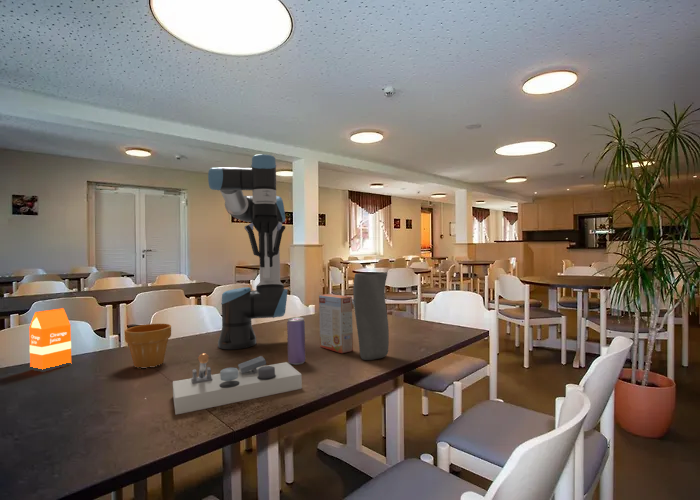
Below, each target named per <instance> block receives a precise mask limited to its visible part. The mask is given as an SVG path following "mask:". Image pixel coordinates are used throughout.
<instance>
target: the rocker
mask: <svg viewBox="0 0 700 500" xmlns="http://www.w3.org/2000/svg"><path fill="white" fill-rule="evenodd" d="M266 365H267V360H266V359H265V358H264V357H263V355H260V356H257V357H254V358H252V359H249V360H246V361H244V362H241V363H238V364H237V367H238V370H240V371H241V372H242V373H245V372H247V371H250V370H252V369H255V368H258V367H261V366H266Z"/></svg>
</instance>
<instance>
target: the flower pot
mask: <svg viewBox="0 0 700 500" xmlns="http://www.w3.org/2000/svg"><path fill="white" fill-rule="evenodd" d="M171 337H172V325H171V324H169V323H148V324H142V325H135V326H132V327H128V328H126V329H124V341H125V343H127V344H128V348H129V351H130V356H131V359H132V363H133V365H134V366H133V367H135V366H136V367H150V366H156V365H159V364H161V365H163V364H162V363H164V362H165V356H166V352H167V347H168V343H169V339H170V338H171ZM159 366H160V365H159ZM156 367H157V366H156Z"/></svg>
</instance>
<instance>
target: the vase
mask: <svg viewBox="0 0 700 500" xmlns="http://www.w3.org/2000/svg"><path fill="white" fill-rule="evenodd" d="M388 274H389V273H388V272H374V271H371V272H369V271H366V272H358V273H357V272H356V273H354V277H353V279H354V280H353V287H352V288H353V289H352V291H353V295H352V300H353V308H354V317H355V321H356V322H355V323H356V330H357V337H358V349H359V356H360V358H361V360H364V361H373V360H377V359H382V358H384V357H386V356H387V355H388V352H389V343H390V342H389V341H390V340H389V339H390V337H389V336H390V335H389V334H390V333H389V319H388V317H389V316H388V310H387V305H386V297H385V292H386V290H385V289H386V283H387V282H386V281H387V278H388Z"/></svg>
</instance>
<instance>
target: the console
mask: <svg viewBox="0 0 700 500" xmlns="http://www.w3.org/2000/svg"><path fill="white" fill-rule="evenodd" d="M265 366H272V367H274V368H275V376H274V377H272V378H268V379H261V378H259V376H258V369H259V368H261V367H265ZM197 373H198V372H197V369H195V368H194V369H192V377H190V378H186V379H180V380H173V381H172V398H173V405H174V412H175V413H174V414H175V415H176V416H177V415H180V414H181V415H182V414H186V413H191V412H195V411H200V410H205V409H209V408H213V407H214V408H215V407H220V406H224V405H229V404H234V403H238V402H244V401H250V400H254V399H258V398H262V397H267V396H272V395H276V394H282V393H287V392H291V391H296V390H297V391H298V390H301V389H302V388H303V383H302V379H303V378H302V373H301V372H299V371H298V370H297V369H296V368H294V366H292V364H290V363H289V362H288V361H285V362H279V363H274V364H269V365H267V364H266V365H263V366H260V367H258V368H255V369H252V370H250V371H247V372H245V373H242V372H241V371H240V370H239V369H238V378H237V379H235V380H231V381H222V380H221V379H220V372H219V373H214V374H212V370H211V367H210V366H206V375H205V377H204V378H200V377H199V376H198V374H197Z"/></svg>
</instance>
